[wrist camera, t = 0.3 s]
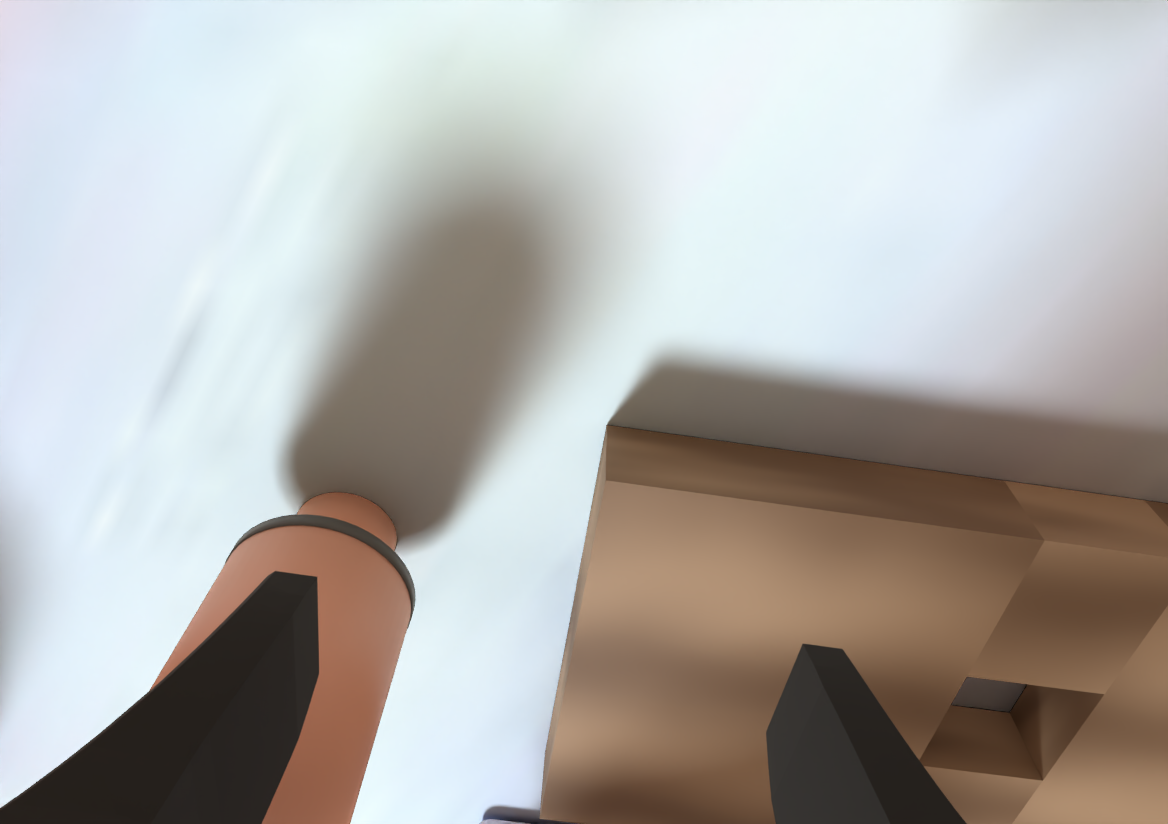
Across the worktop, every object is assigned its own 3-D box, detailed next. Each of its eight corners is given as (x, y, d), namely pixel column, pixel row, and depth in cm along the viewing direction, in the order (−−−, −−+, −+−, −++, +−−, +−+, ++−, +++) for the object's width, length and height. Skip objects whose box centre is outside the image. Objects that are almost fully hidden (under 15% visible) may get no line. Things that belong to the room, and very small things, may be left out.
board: (1084, 817, 30) (1120, 887, 28) (545, 752, 29) (539, 819, 27) (1316, 524, 23) (1388, 587, 21) (606, 425, 22) (605, 480, 20)
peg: (427, 605, 26) (333, 951, 17) (265, 584, 25) (87, 923, 17) (435, 475, 23) (329, 808, 15) (254, 451, 23) (37, 774, 14)
